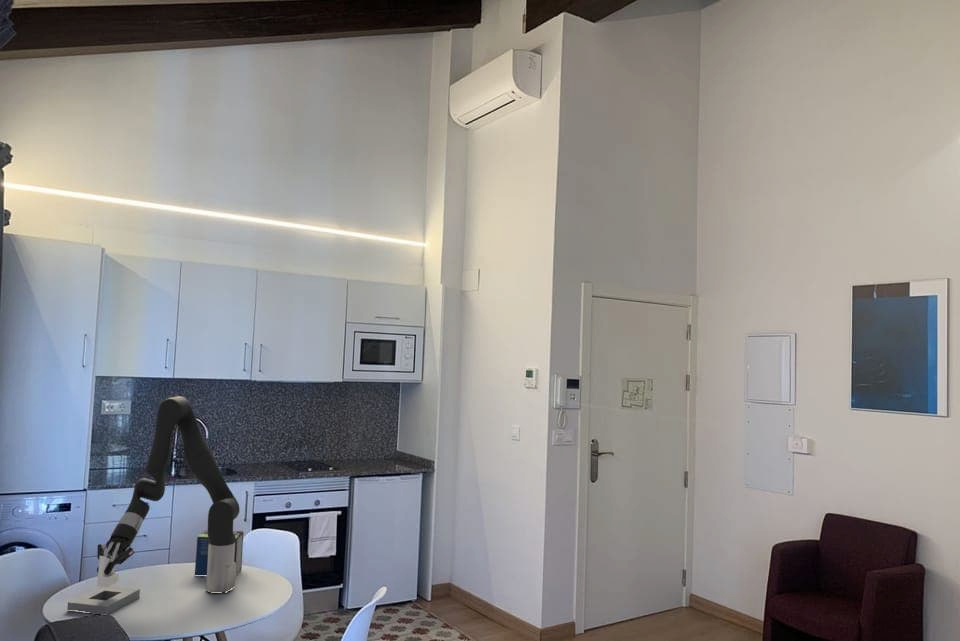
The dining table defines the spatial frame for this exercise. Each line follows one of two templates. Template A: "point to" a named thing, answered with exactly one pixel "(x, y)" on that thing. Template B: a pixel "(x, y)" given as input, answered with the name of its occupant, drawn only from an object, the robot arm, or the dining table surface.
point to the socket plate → (104, 599)
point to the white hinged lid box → (106, 579)
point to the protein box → (203, 552)
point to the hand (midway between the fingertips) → (102, 573)
